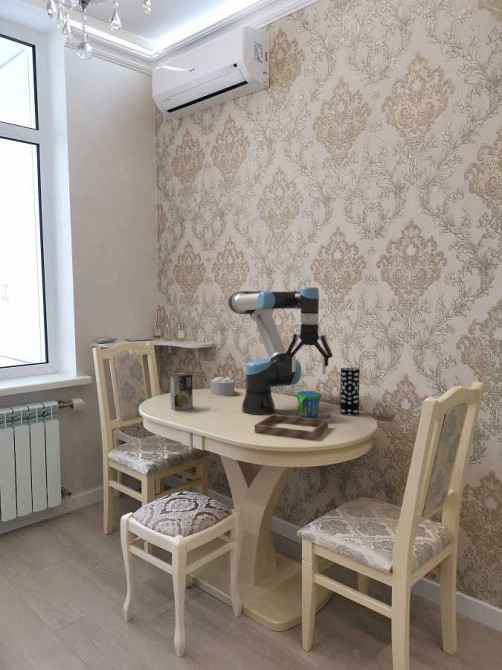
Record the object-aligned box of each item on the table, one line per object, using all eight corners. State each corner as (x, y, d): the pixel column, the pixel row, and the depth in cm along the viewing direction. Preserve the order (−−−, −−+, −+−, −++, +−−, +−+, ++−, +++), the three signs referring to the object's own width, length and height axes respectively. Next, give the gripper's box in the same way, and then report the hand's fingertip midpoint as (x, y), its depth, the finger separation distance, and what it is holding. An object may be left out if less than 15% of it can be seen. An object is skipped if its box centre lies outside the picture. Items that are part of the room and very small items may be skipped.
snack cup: (308, 422, 215) (308, 397, 214) (287, 417, 222) (288, 394, 221) (328, 415, 227) (328, 392, 226) (308, 411, 234) (308, 389, 233)
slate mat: (286, 420, 221) (286, 418, 220) (297, 412, 234) (297, 411, 234) (320, 423, 214) (320, 422, 214) (330, 415, 228) (330, 414, 228)
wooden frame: (254, 432, 202) (254, 425, 201) (272, 421, 219) (272, 414, 218) (313, 440, 192) (313, 432, 191) (327, 427, 209) (328, 420, 209)
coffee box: (188, 405, 248) (188, 372, 246) (193, 408, 242) (192, 374, 240) (170, 407, 244) (169, 373, 242) (174, 410, 238) (173, 375, 236)
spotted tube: (358, 415, 228) (359, 370, 226) (339, 414, 230) (340, 370, 228) (358, 411, 236) (359, 368, 234) (340, 410, 238) (341, 367, 236)
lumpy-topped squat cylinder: (222, 390, 283) (222, 375, 283) (239, 394, 274) (239, 378, 274) (208, 393, 276) (208, 377, 275) (224, 397, 267) (224, 380, 266)
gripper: (279, 323, 222) (278, 371, 224) (335, 325, 212) (334, 376, 214) (285, 321, 229) (284, 369, 231) (340, 323, 219) (339, 373, 221)
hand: (308, 372), depth 223 cm, fingers open, 13 cm apart
